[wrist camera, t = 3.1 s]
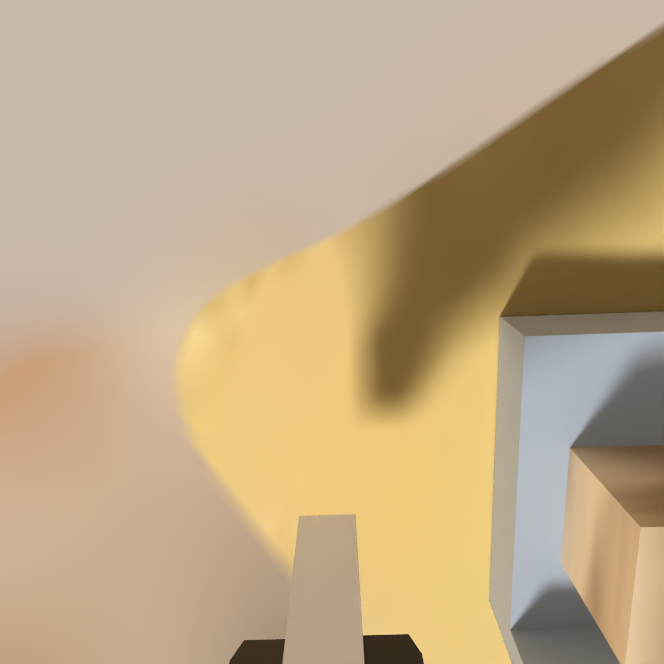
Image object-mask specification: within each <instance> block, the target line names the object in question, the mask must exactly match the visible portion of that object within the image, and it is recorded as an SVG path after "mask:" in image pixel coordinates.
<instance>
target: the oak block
mask: <svg viewBox="0 0 664 664" xmlns="http://www.w3.org/2000/svg"><path fill="white" fill-rule="evenodd" d="M561 564H562V566H563V567H564V569H565V571H566V573H567V574H568V576H569V578H570V579H571V581H572V583H573V584H574V586H575V588H576V589H577V591H578V593H579V595H580V596H581V598H582V600H583V601H584V603H585V605H586V606H587V608H588V610H589V611H590V613H591V615H592V616H593V618H594V620H595V622H596V623H597V625H598V627H599V628H600V630H601V632H602V633H603V635H604V637H605V638H606V640H607V642H608V643H609V645H610V647H611V649H612V650H613V652H614V654H615V655H616V657H617V659H618V660H619V662H620V664H664V445H651V446H615V447H580V448H570V450H569V463H568V477H567V490H566V504H565V517H564V530H563V544H562V557H561Z"/></svg>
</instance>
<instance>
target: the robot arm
mask: <svg viewBox="0 0 664 664" xmlns="http://www.w3.org/2000/svg"><path fill="white" fill-rule="evenodd" d="M229 664H424V663H423V657H422V653H421V652H420V651H419V649H418V648H417V646H416V645H415V643H414V642H413V640H412V639H411V637H410V636H409V634H402V635H365V636H363V632H362V616H361V599H360V582H359V566H358V549H357V532H356V516H355V514H351V515H318V516H299V522H298V531H297V539H296V548H295V557H294V566H293V575H292V584H291V593H290V601H289V612H288V620H287V628H286V637H285V639H276V640H244V641H243V643H242V644H241V646H240V647H239V648H238V650H237V651H236V653H235V654H234V656H233V657H232V659H231V660H230V663H229Z"/></svg>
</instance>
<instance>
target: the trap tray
mask: <svg viewBox="0 0 664 664" xmlns="http://www.w3.org/2000/svg"><path fill="white" fill-rule="evenodd" d="M651 445H664V311H656V312H627V313H597V314H568V315H539V316H510V317H500V328H499V354H498V381H497V407H496V434H495V460H494V487H493V513H492V540H491V566H490V593H489V601H490V604H491V607H492V610H493V612H494V615H495V618H496V621H497V624H498V626H499V629H500V632H501V635H502V637H503V640H504V643H505V646H506V648H507V651H508V654H509V657H510V659H511V662H512V664H620V662H619V660H618V659H617V657H616V655H615V654H614V652H613V650H612V649H611V647H610V645H609V643H608V642H607V640H606V638H605V637H604V635H603V633H602V632H601V630H600V628H599V627H598V625H597V623H596V622H595V620H594V618H593V616H592V615H591V613H590V611H589V610H588V608H587V606H586V605H585V603H584V601H583V600H582V598H581V596H580V595H579V593H578V591H577V589H576V588H575V586H574V584H573V583H572V581H571V579H570V578H569V576H568V574H567V573H566V571H565V569H564V567H563V566H562V564H561V557H562V544H563V530H564V517H565V504H566V490H567V477H568V463H569V450H570V448H580V447H615V446H651Z"/></svg>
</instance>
